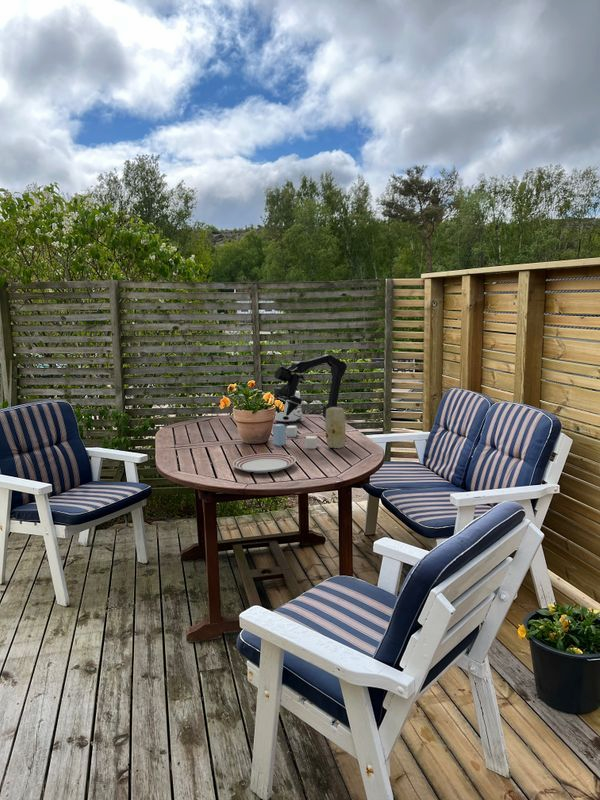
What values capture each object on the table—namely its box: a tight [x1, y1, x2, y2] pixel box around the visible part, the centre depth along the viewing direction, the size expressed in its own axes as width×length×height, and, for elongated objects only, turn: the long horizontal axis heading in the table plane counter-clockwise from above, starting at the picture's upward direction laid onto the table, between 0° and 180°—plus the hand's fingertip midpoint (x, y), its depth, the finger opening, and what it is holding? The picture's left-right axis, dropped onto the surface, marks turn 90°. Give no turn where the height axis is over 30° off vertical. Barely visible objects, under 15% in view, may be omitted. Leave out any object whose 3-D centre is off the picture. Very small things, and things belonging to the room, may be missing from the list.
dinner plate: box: [232, 452, 297, 474], centre depth 255 cm, size 27×27×3 cm
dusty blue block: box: [272, 423, 287, 447], centre depth 295 cm, size 4×4×10 cm
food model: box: [324, 406, 346, 449], centre depth 285 cm, size 10×7×20 cm
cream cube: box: [305, 435, 318, 449], centre depth 288 cm, size 5×5×5 cm
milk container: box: [273, 390, 303, 424], centre depth 351 cm, size 17×17×18 cm
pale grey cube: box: [285, 425, 298, 438], centre depth 315 cm, size 5×5×5 cm
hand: (282, 414), depth 298 cm, fingers open, 9 cm apart
